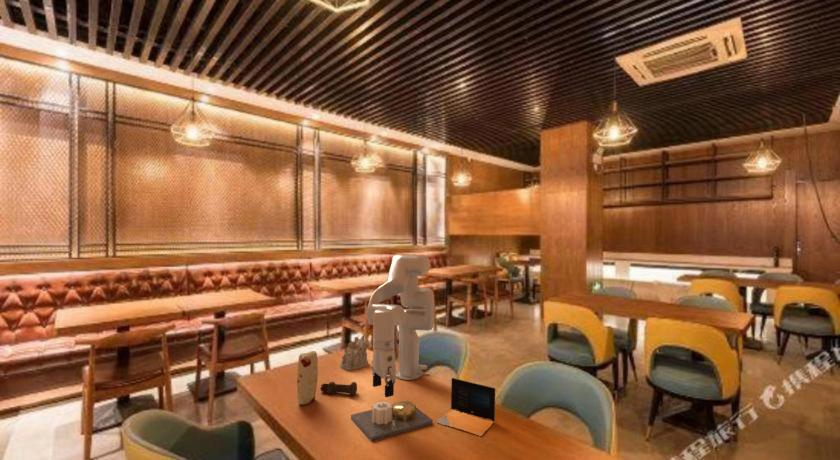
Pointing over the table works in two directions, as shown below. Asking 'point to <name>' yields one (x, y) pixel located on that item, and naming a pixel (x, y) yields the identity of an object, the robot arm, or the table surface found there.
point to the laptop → (471, 400)
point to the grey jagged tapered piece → (355, 355)
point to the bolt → (340, 388)
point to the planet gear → (382, 413)
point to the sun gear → (403, 410)
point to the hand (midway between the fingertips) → (382, 390)
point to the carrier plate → (389, 424)
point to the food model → (307, 377)
